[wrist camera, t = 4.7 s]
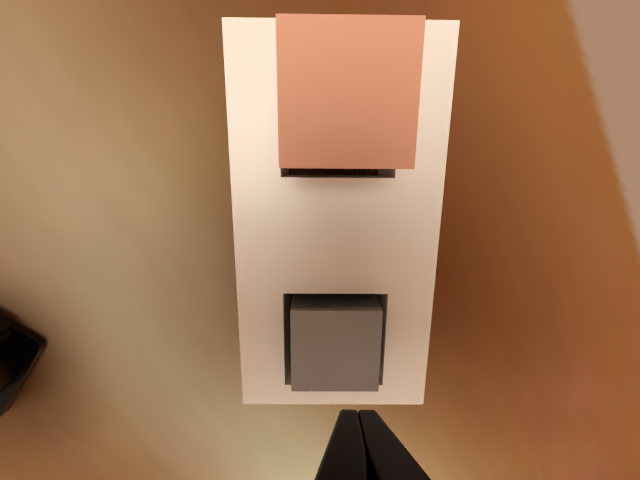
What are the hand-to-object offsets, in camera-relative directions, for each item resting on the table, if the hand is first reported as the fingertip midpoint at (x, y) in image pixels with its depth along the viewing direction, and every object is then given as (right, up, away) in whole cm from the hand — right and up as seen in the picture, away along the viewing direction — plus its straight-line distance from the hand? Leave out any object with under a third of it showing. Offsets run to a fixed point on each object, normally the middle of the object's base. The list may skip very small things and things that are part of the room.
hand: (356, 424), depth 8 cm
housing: (0, +5, +10) cm, 12 cm away
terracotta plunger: (0, +10, +6) cm, 11 cm away
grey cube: (0, 0, +11) cm, 11 cm away
